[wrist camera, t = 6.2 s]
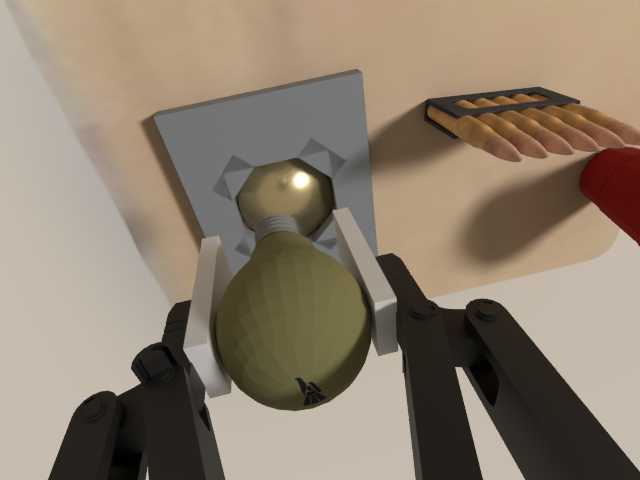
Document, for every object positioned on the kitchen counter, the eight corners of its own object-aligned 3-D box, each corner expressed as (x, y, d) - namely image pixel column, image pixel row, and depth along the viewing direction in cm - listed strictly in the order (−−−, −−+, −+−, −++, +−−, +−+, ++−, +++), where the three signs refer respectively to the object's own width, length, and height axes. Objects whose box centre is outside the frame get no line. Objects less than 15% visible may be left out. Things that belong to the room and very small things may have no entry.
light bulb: (350, 224, 20) (428, 380, 11) (278, 285, 21) (300, 462, 13) (279, 155, 17) (314, 294, 9) (201, 229, 18) (166, 412, 10)
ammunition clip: (423, 120, 32) (502, 176, 22) (425, 99, 31) (510, 147, 21) (534, 107, 33) (656, 155, 23) (540, 86, 32) (670, 126, 22)
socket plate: (157, 111, 28) (153, 117, 26) (357, 69, 28) (362, 72, 27) (234, 294, 39) (234, 304, 38) (374, 261, 40) (379, 269, 39)
